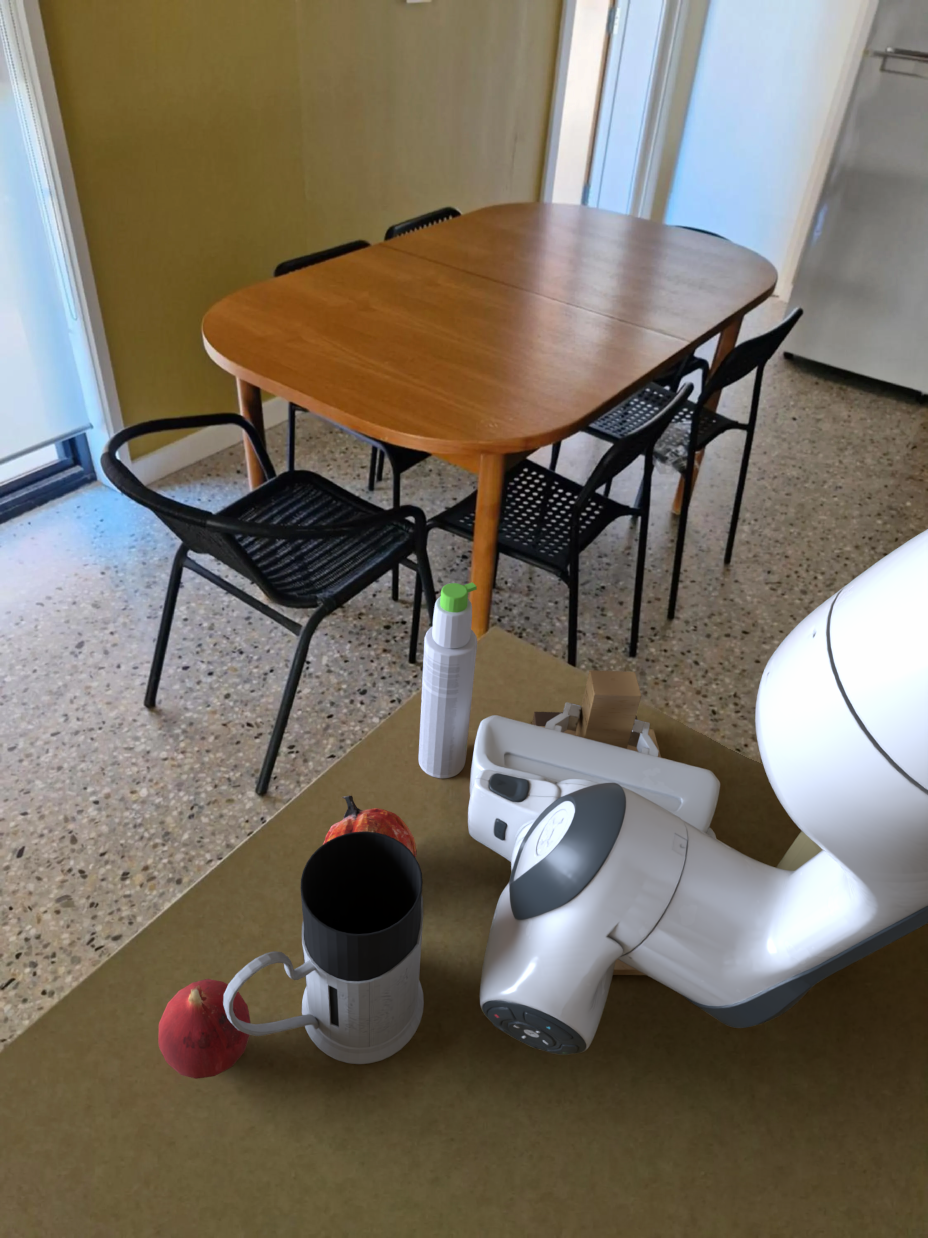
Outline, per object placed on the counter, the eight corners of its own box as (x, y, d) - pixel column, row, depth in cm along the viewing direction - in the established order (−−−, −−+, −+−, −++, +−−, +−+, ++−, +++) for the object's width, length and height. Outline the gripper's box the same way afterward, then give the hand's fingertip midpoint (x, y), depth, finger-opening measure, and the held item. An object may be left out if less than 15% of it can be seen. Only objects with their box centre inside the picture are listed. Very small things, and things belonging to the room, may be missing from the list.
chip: (572, 726, 87) (575, 712, 86) (577, 757, 84) (580, 742, 83) (531, 725, 87) (534, 711, 86) (535, 756, 84) (538, 741, 83)
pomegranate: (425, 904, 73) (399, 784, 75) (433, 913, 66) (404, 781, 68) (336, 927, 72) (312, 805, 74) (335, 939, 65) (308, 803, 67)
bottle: (470, 775, 81) (488, 604, 69) (423, 782, 80) (433, 610, 68) (459, 741, 85) (474, 571, 72) (414, 746, 84) (422, 576, 71)
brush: (647, 751, 84) (672, 665, 77) (657, 792, 80) (685, 705, 73) (531, 748, 83) (547, 660, 76) (536, 789, 79) (553, 701, 72)
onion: (272, 1041, 62) (263, 982, 57) (214, 1116, 58) (199, 1060, 53) (209, 998, 64) (195, 937, 59) (148, 1068, 60) (128, 1008, 55)
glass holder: (448, 1010, 64) (461, 890, 55) (278, 1148, 56) (260, 1036, 47) (375, 925, 69) (376, 801, 60) (210, 1042, 61) (180, 921, 52)
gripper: (724, 851, 64) (734, 721, 75) (454, 777, 68) (499, 663, 78) (703, 901, 68) (715, 771, 79) (449, 829, 72) (493, 714, 82)
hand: (605, 717), depth 78 cm, fingers closed on brush, 5 cm apart
